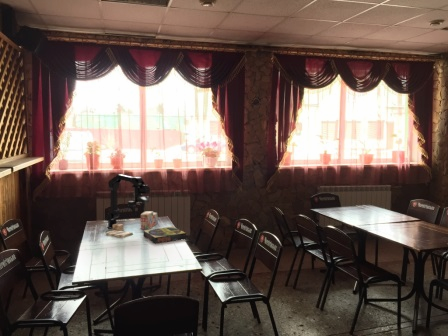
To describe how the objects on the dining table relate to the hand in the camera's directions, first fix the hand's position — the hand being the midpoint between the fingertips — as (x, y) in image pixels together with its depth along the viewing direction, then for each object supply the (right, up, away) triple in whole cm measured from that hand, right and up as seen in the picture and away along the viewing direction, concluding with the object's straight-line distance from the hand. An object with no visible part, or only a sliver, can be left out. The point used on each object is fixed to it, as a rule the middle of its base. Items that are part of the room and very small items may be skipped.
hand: (138, 212), depth 316 cm
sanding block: (-17, -15, +4) cm, 23 cm away
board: (-13, -16, -8) cm, 22 cm away
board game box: (+23, -17, -18) cm, 34 cm away
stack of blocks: (+5, -13, +19) cm, 24 cm away
